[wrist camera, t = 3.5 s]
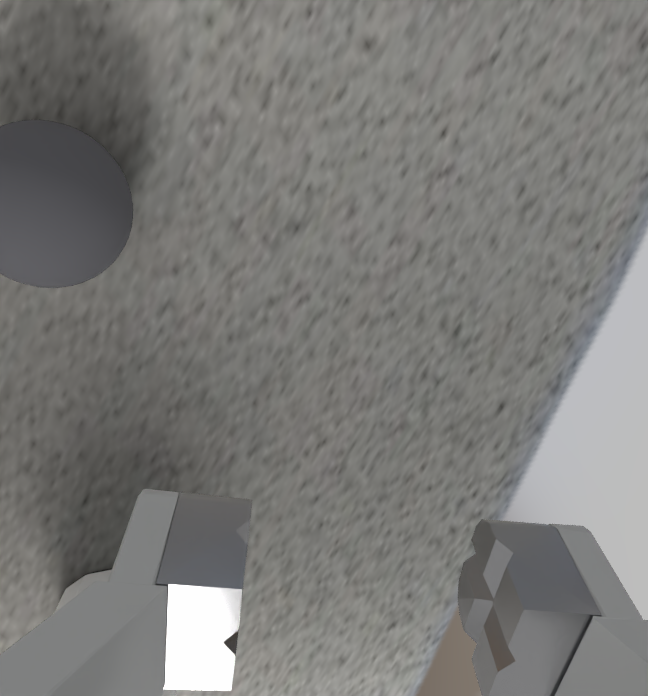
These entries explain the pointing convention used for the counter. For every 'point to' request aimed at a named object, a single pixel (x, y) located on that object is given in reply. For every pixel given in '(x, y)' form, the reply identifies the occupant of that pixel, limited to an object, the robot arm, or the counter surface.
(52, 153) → the dark gray ball
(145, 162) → the counter surface
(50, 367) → the counter surface
